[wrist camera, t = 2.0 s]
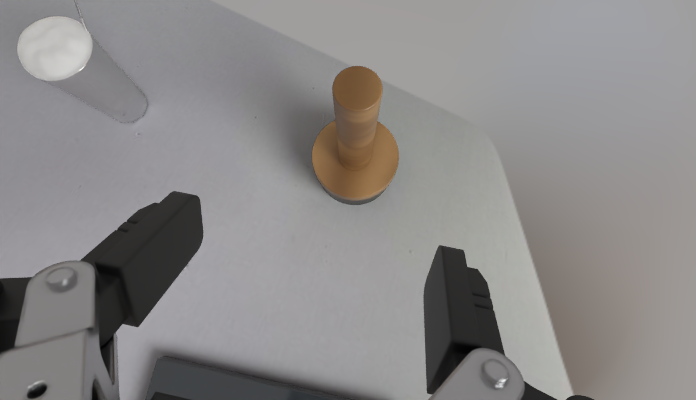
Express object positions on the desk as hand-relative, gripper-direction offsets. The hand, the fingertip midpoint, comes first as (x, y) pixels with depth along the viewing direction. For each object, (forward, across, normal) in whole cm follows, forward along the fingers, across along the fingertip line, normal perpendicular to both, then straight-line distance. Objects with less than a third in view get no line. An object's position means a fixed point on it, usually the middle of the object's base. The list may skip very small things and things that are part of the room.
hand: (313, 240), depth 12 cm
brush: (+17, 0, +6) cm, 18 cm away
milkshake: (+19, +20, +5) cm, 28 cm away
